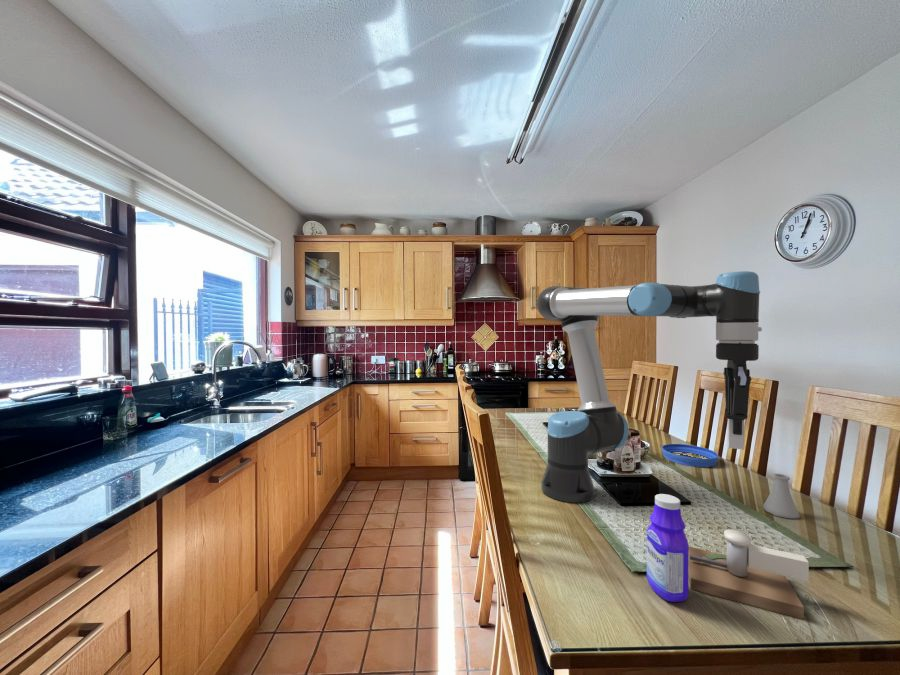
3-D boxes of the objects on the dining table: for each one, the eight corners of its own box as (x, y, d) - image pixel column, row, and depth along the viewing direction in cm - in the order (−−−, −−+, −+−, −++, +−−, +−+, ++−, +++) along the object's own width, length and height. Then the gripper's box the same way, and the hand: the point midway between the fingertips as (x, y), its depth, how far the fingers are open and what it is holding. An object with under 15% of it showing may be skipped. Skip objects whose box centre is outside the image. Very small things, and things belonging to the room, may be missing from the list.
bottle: (640, 579, 72) (641, 490, 72) (667, 577, 73) (669, 489, 73) (664, 606, 65) (666, 508, 65) (695, 604, 66) (696, 507, 65)
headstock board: (690, 588, 70) (690, 577, 70) (684, 554, 80) (684, 544, 80) (803, 619, 62) (803, 606, 62) (779, 577, 73) (780, 566, 73)
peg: (690, 565, 73) (691, 530, 73) (688, 554, 77) (689, 520, 76) (810, 594, 65) (811, 555, 65) (801, 581, 68) (802, 543, 68)
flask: (806, 521, 95) (807, 482, 95) (774, 518, 96) (774, 479, 96) (787, 508, 102) (787, 471, 102) (757, 505, 103) (757, 469, 103)
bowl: (730, 468, 132) (730, 458, 132) (679, 468, 132) (679, 458, 132) (697, 452, 150) (697, 443, 150) (652, 452, 150) (652, 443, 150)
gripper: (767, 343, 75) (765, 459, 75) (750, 341, 87) (748, 442, 87) (722, 342, 79) (720, 453, 79) (711, 341, 90) (710, 438, 91)
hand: (735, 447), depth 83 cm, fingers closed
